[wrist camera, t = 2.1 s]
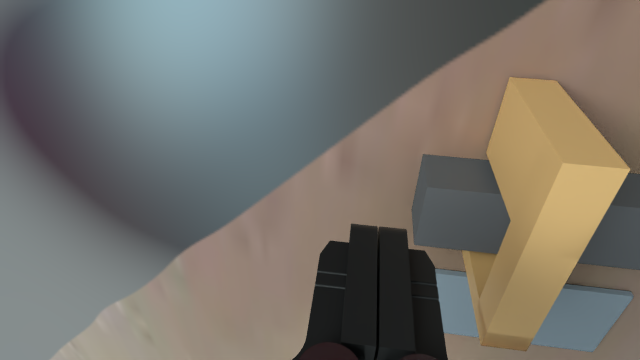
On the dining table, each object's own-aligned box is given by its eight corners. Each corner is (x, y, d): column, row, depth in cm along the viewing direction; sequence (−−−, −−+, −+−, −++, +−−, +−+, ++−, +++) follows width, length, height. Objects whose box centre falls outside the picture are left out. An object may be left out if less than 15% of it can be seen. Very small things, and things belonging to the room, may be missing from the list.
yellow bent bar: (556, 80, 18) (630, 169, 13) (494, 242, 24) (526, 351, 19) (509, 77, 19) (562, 163, 13) (459, 238, 24) (480, 345, 19)
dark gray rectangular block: (705, 177, 21) (750, 219, 18) (666, 232, 23) (701, 276, 20) (422, 151, 22) (426, 187, 19) (411, 206, 24) (414, 244, 22)
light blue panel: (630, 291, 25) (633, 296, 25) (590, 346, 29) (592, 352, 29) (400, 264, 27) (401, 269, 26) (389, 320, 30) (389, 325, 30)
